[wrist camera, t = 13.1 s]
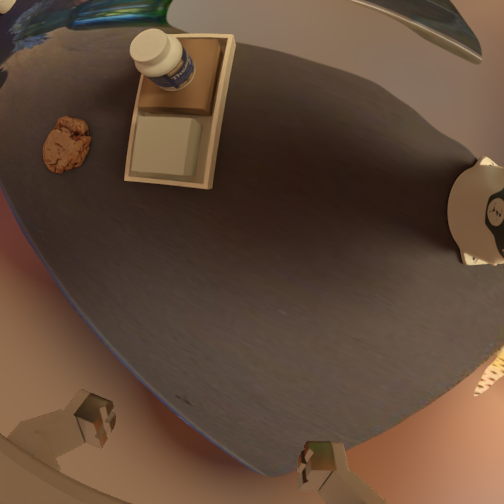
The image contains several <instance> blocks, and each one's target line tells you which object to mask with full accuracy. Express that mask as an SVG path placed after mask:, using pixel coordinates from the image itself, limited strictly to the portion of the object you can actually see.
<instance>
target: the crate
mask: <svg viewBox="0 0 504 504" xmlns="http://www.w3.org/2000/svg"><path fill="white" fill-rule="evenodd" d="M170 35H172V36H174V37H176V38H177V39H217V40H218V43H219V45H220V48H221V50H222V53H223V56H222V61H221V66H220V71H219V76H218V81H217V87H216V92H215V98H214V104H213V110H212V116H211V117H210V116H196V115H177V114H151V113H149V112H147V111H145V110H143V109H141V108H138V107H137V105H138V100H139V95H140V90H141V85H142V81H143V76H144V75H143V74H141V78H140V82H139V87H138V92H137V97H136V102H135V107H134V113H133V118H132V124H131V130H130V137H129V144H128V151H127V159H126V168H125V177H124V181H135V182H146V183H156V184H166V185H175V186H184V187H193V188H201V189H211V188H213V180H214V173H215V166H216V159H217V152H218V145H219V139H220V132H221V126H222V120H223V113H224V107H225V101H226V96H227V90H228V84H229V79H230V73H231V68H232V63H233V57H234V52H235V47H236V43H235V39H234V36H233V35H230V34H170ZM139 117H178V118H192V119H193V120H195V121H196V122H197V123H199V124H200V125H202V126H203V127H202V133H201V140H200V146H199V153H198V160H197V168H196V175H195V176H183V175H173V174H163V173H151V172H139V171H131V168H132V159H133V151H134V144H135V137H136V131H137V124H138V119H139Z"/></svg>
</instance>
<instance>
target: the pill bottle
mask: <svg viewBox="0 0 504 504" xmlns="http://www.w3.org/2000/svg"><path fill="white" fill-rule="evenodd" d="M130 55H131V57H132V58H133V59H134V62H135V66H136V68H137V69H138V71H139V72H140V73H141V74H143V75H144V76H146V77H147V78H148V79H150V80H151V81H152V82H153V83H155V84H156V85H157V86H159V87H160V88H162V89H164V90H166V91H177V90H180V89H183V88H184V87H186V86H187V85H188V84H189V83H190V82H191V81H192V79H193V78H194V75H195V64H194V62H193V60H192V59H191V57H190V56H189V54H188V53H187V51H186V50H185V49H184V47H183V46H182V44H181V43H180V41H179V40H178V39H177V38H176V37H174V36H172V35H170V34H165V33H164V32H163V31H161V30H159V29H148V30H145V31H143V32H141V33H140V34H138V35H137V36H136V37H135V38H134V40H133V41H132V43H131V45H130Z"/></svg>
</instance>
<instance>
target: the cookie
mask: <svg viewBox="0 0 504 504" xmlns="http://www.w3.org/2000/svg"><path fill="white" fill-rule="evenodd" d="M91 139H92V138H91V136H90V135H89V127H88V125H87V123H86V122H85V121H84V120H82V119H77V118H70V117H68V116H64V117H62V118H60V119H58V121H57V124H56V126H55V127H54V129H53V130H52V131H51V132H50V134H49V135H48V137H47V140H46V141H45V143H44V146H43V159H44V162H45V165H46V166H47V167H48V169H49V170H50V171H52V172H57V173H60V174H61V173H63V170H66V171H67V170H69V169H72V168H74V167H79V166H81V165H82V163H83V161H84V160H85V157H86V155H87V154H88V151H89V148H90V146H89V145H90V143H91Z"/></svg>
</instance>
